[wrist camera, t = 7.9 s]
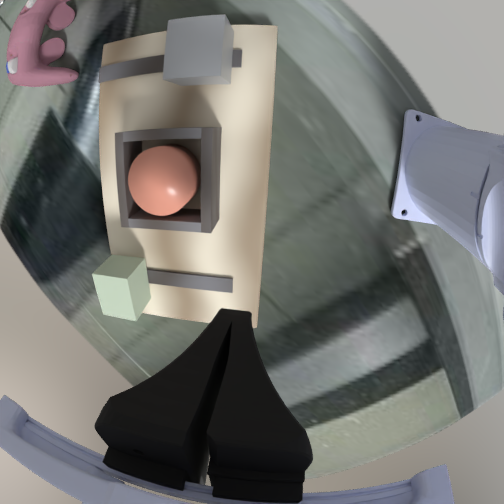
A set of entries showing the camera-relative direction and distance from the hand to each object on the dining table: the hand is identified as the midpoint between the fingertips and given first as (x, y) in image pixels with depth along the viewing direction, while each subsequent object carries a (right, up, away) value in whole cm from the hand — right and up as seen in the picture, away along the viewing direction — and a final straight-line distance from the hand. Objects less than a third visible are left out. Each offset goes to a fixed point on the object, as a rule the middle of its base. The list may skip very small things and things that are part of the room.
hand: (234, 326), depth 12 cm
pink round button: (-4, +8, +5) cm, 11 cm away
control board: (-4, +8, +7) cm, 11 cm away
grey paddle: (-2, +15, +1) cm, 15 cm away
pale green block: (-9, +1, +8) cm, 12 cm away
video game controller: (-15, +22, +2) cm, 26 cm away
